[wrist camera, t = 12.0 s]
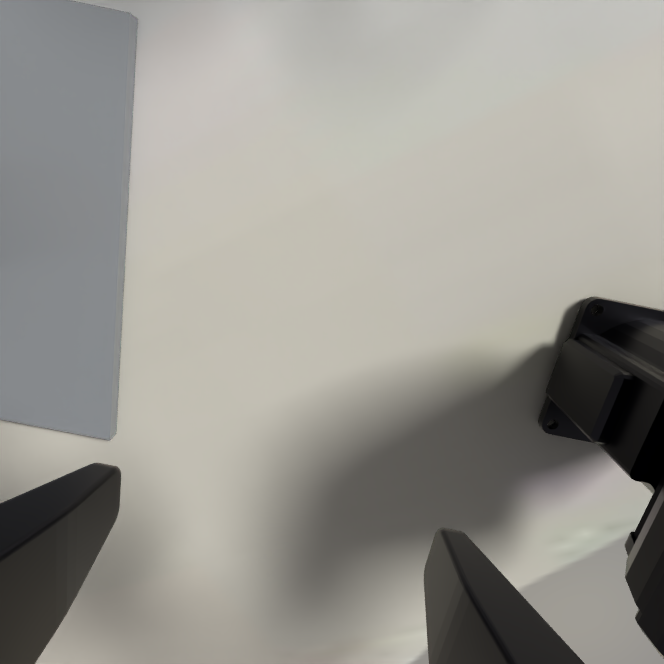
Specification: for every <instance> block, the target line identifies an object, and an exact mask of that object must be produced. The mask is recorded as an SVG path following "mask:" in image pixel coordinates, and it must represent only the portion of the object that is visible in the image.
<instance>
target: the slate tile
mask: <svg viewBox="0 0 664 664" xmlns="http://www.w3.org/2000/svg"><path fill="white" fill-rule="evenodd" d="M137 20H138V19H137V18H136V17H134V16H133V15H132V14H131V13H128V12H124V11H119V10H114V9H109V8H104V7H100V6H95V5H90V4H85V3H80V2H76V1H71V0H0V419H1V420H6V421H11V422H16V423H22V424H27V425H32V426H37V427H43V428H48V429H53V430H59V431H64V432H69V433H74V434H80V435H85V436H90V437H95V438H101V439H106V440H111V439H112V438H113V437H114V436H115V435H116V427H117V407H118V388H119V369H120V349H121V330H122V311H123V291H124V272H125V253H126V233H127V214H128V195H129V175H130V156H131V137H132V117H133V98H134V78H135V59H136V40H137Z"/></svg>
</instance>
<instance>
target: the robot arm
mask: <svg viewBox="0 0 664 664" xmlns="http://www.w3.org/2000/svg"><path fill="white" fill-rule="evenodd" d="M595 305H598V310H597V312H595V313H593V314H592V313H591V309H592V307H593V306H595ZM546 393H547V398H546V401H545V403H544V406H543V409H542V411H541V414H540V417H539V421H538V422H539V426H540V427H541V428H542V429H543V430H544V431H545V432H546V433H548V434H552V435H557V436H562V437H567V438H572V439H578V440H583V441H588V442H593V443H597V444H598V445H599V446H600V447H601V448H602V449H603V450H604V451H605V452H606V453H607V454H608V455H609V456H610V457H611V458H612V459H613V460H614V461H615V462H616V463H617V464H618V465H619V466H620V467H621V468H622V469H623V470H624V472H625V473H626V474H627V475H628V476H629V477H630V478H631V479H633V480H635V481H640V482H642V483H643V484H644V485H645V486H646V487H647V488H648V489H649V490H650V491H651V492H652V493H653V496H652V498H651V500H650V502H649V504H648V506H647V508H646V510H645V512H644V514H643V516H642V518H641V520H640V522H639V524H638V526H637V528H636V530H635V532H631V533H630V535H629V537H628V539H627V541H626V543H625V548H626V551H627V554H628V558H627V564H626V575H625V578H626V581H627V583H628V586H629V588H630V591H631V593H632V596H633V598H634V601H635V603H636V605H637V607H638V608H639V610H638V611H637V613H636V617H635V619H636V621H637V623H638V625H639V626H640V628H641V630H642V631H643V633H644V634H645V635H646V637H647V638H648V639H649V641H650V642H651V643H652V645H653V646H654V647H655V648H656V650H657V651H658V653H659V654H660V655H661V656H662V657H663V658H664V310H660V309H655V308H650V307H645V306H640V305H635V304H630V303H625V302H620V301H615V300H610V299H605V298H600V297H590V298H587V299H586V300H585V301H584V302H583V303H582V305H581V307H580V310H579V312H578V315H577V318H576V320H575V323H574V326H573V328H572V331H571V334H570V336H569V339H568V340H567V341H566V342H564V344H563V346H562V349H561V352H560V354H559V357H558V360H557V362H556V365H555V368H554V371H553V373H552V376H551V379H550V381H549V384H548V387H547V389H546ZM550 420H555V422H554V423H553V424H551V425H547V424H548V422H549V421H550ZM120 487H121V471H120V469H119V468H118V467H117V466H112V465H107V464H102V463H93V464H90V465H88V466H85V467H83V468H81V469H79V470H76V471H74V472H72V473H69V474H67V475H65V476H63V477H60V478H58V479H56V480H53V481H51V482H49V483H46V484H44V485H42V486H40V487H37V488H35V489H33V490H30V491H28V492H26V493H24V494H21V495H19V496H17V497H14V498H12V499H10V500H7V501H5V502H3V503H1V504H0V664H35V662H36V661H37V659H38V658H39V656H40V655H41V653H42V652H43V650H44V649H45V647H46V645H47V644H48V642H49V641H50V639H51V638H52V636H53V635H54V633H55V632H56V630H57V628H58V627H59V625H60V624H61V622H62V620H63V619H64V617H65V616H66V614H67V612H68V610H69V609H70V607H71V605H72V603H73V601H74V599H75V598H76V596H77V594H78V592H79V590H80V588H81V586H82V584H83V582H84V580H85V578H86V577H87V575H88V573H89V571H90V569H91V567H92V565H93V563H94V561H95V559H96V557H97V556H98V554H99V552H100V550H101V548H102V546H103V544H104V542H105V540H106V538H107V536H108V535H109V533H110V531H111V529H112V527H113V525H114V523H115V521H116V518H117V515H118V512H119V505H120ZM424 590H425V607H426V623H427V640H428V656H429V664H584V662H583V661H582V660H581V659H580V658H579V657H578V656H577V655H576V654H575V653H574V652H573V650H572V649H571V648H570V647H569V646H568V645H567V644H566V643H565V642H564V641H563V640H562V639H561V637H560V636H559V635H558V634H557V633H556V632H555V631H554V630H553V629H552V628H551V627H550V625H549V624H548V623H547V622H546V621H545V620H544V619H543V618H542V617H541V616H540V615H539V614H538V612H537V611H536V610H535V609H534V608H533V607H532V606H531V605H530V604H529V603H528V602H527V601H526V599H524V597H523V596H522V595H521V594H520V593H519V592H518V591H517V590H516V589H515V587H514V586H513V585H512V584H511V583H510V582H509V581H508V580H507V579H506V578H505V577H504V576H503V574H502V573H501V572H500V571H499V570H498V569H497V568H496V567H495V566H494V565H493V564H492V562H491V561H490V560H489V559H488V558H487V557H486V556H485V555H484V554H483V553H482V552H481V551H480V549H479V548H478V547H477V546H476V545H475V544H474V543H473V542H472V541H471V540H470V539H469V537H468V536H467V535H466V534H464V533H463V532H461V531H457V530H452V529H446V528H440V529H438V531H437V532H436V534H435V537H434V540H433V543H432V546H431V549H430V552H429V555H428V559H427V562H426V565H425V570H424Z"/></svg>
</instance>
